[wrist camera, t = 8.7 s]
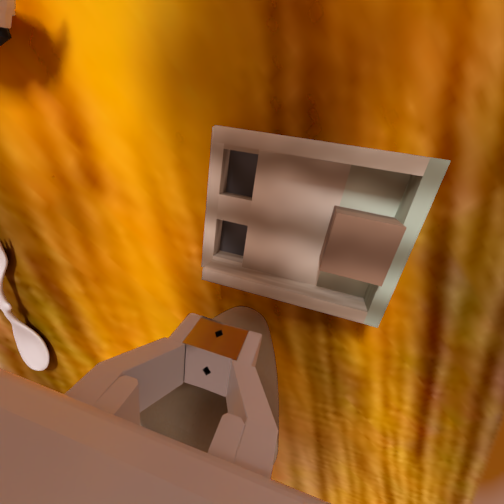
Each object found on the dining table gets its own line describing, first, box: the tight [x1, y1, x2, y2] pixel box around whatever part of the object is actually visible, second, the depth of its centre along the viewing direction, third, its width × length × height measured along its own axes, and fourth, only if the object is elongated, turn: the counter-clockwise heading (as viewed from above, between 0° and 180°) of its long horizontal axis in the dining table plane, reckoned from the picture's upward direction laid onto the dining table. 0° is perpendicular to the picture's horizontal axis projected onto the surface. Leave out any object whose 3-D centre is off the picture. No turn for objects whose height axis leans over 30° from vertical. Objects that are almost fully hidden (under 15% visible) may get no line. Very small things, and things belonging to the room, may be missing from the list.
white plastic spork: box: [0, 242, 49, 371], centre depth 49 cm, size 9×32×4 cm, turn 2°
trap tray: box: [201, 125, 451, 328], centre depth 28 cm, size 17×22×6 cm
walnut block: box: [319, 205, 407, 286], centre depth 25 cm, size 6×6×4 cm
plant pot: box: [140, 306, 279, 465], centre depth 31 cm, size 15×15×16 cm
